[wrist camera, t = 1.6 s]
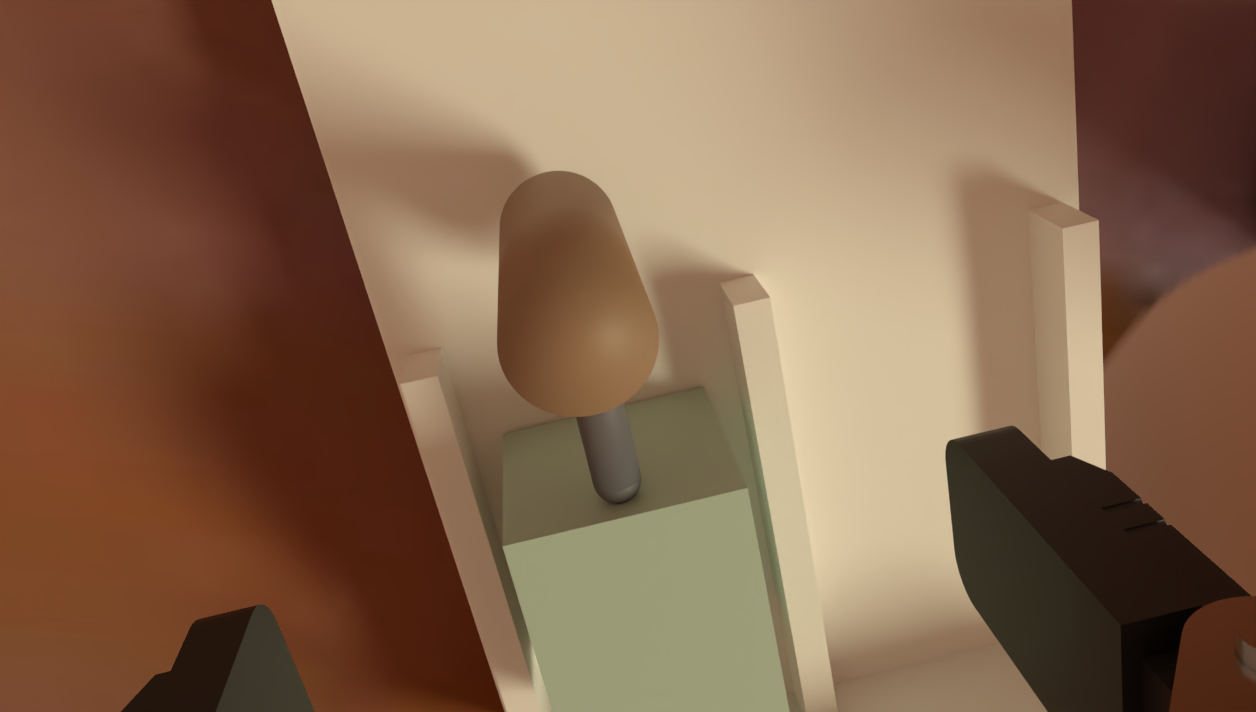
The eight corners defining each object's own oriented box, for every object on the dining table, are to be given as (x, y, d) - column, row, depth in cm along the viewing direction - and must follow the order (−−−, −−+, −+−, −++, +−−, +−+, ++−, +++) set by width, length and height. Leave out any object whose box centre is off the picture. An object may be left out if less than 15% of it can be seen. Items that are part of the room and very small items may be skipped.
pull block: (431, 186, 27) (396, 306, 19) (653, 134, 27) (723, 229, 19) (565, 650, 33) (586, 906, 25) (747, 606, 33) (832, 846, 25)
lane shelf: (210, -269, 26) (91, -350, 18) (996, -444, 26) (1189, -591, 19) (525, 720, 38) (530, 909, 31) (1052, 592, 39) (1181, 748, 31)
